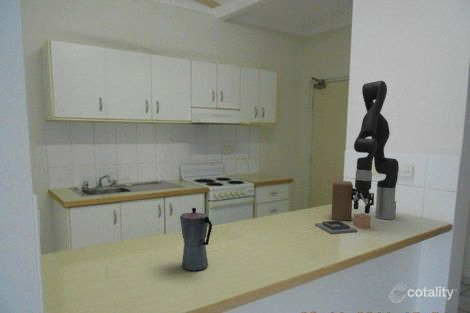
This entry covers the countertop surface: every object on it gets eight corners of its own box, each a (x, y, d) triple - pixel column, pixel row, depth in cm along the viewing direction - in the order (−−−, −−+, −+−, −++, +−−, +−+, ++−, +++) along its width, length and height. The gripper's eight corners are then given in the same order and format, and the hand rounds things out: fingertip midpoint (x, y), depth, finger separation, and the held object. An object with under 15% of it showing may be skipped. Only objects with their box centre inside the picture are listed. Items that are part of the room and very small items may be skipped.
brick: (362, 224, 159) (363, 213, 159) (370, 228, 154) (370, 216, 153) (353, 225, 158) (354, 213, 157) (360, 228, 152) (361, 216, 152)
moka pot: (191, 256, 115) (191, 202, 113) (222, 268, 105) (223, 209, 104) (170, 264, 108) (170, 207, 106) (202, 278, 98) (202, 215, 96)
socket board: (339, 223, 160) (339, 218, 160) (357, 232, 147) (357, 226, 147) (315, 225, 157) (315, 220, 156) (331, 234, 143) (331, 228, 143)
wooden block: (331, 219, 168) (333, 182, 166) (331, 215, 177) (333, 180, 176) (351, 221, 165) (353, 184, 163) (350, 216, 174) (351, 181, 173)
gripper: (380, 181, 148) (377, 214, 149) (360, 177, 162) (358, 207, 163) (366, 181, 146) (364, 215, 147) (348, 176, 160) (346, 208, 161)
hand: (361, 211), depth 155 cm, fingers open, 8 cm apart
